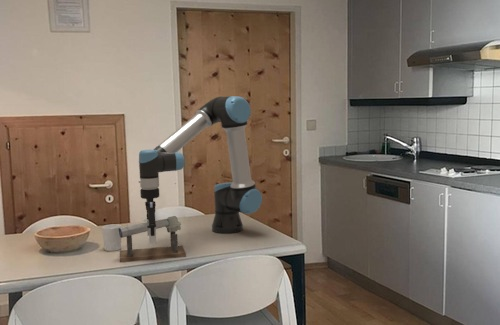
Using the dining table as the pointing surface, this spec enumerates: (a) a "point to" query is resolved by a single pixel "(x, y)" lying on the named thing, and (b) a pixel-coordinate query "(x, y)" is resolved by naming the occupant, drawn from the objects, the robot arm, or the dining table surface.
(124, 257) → the hook board
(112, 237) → the white cup
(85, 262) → the dining table surface
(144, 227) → the grey handled tool
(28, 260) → the dining table surface
